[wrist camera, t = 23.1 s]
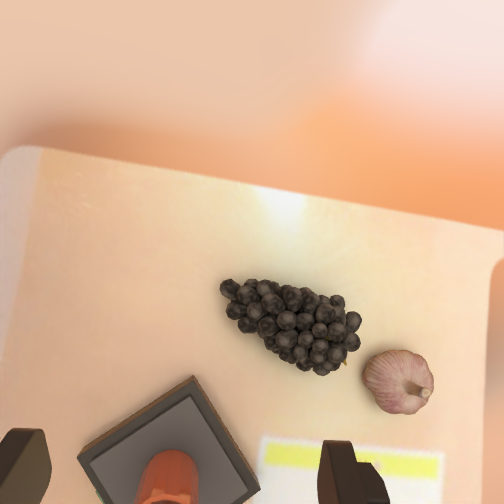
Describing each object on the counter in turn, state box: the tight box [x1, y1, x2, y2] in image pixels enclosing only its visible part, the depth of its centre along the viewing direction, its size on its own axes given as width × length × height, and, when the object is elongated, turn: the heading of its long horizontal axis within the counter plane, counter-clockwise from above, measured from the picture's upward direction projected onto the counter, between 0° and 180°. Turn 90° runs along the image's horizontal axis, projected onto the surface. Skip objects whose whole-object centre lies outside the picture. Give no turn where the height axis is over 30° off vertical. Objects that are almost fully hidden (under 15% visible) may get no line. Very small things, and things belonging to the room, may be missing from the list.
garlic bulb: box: [363, 350, 434, 415], centre depth 41 cm, size 8×7×8 cm
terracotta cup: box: [134, 450, 199, 504], centre depth 34 cm, size 5×5×8 cm
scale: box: [77, 375, 261, 504], centre depth 39 cm, size 13×13×3 cm
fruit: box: [220, 279, 362, 376], centre depth 40 cm, size 9×8×15 cm
